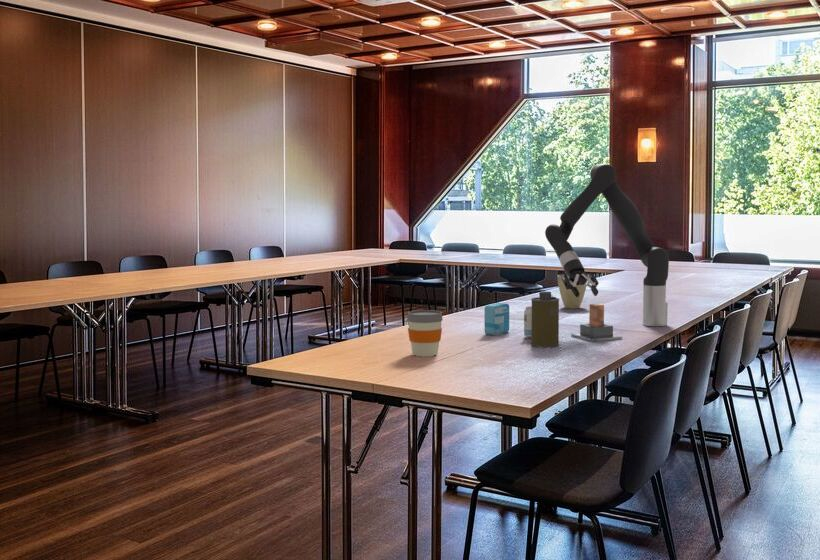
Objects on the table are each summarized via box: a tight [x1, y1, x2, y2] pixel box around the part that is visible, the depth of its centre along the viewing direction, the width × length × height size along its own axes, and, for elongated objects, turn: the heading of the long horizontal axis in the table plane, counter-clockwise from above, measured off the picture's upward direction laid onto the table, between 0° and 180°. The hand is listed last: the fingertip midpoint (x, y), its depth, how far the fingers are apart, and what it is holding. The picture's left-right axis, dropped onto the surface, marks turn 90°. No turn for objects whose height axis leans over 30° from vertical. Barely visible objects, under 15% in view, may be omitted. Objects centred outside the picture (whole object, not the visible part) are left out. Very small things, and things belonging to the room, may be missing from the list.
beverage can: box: [523, 306, 532, 340], centre depth 329 cm, size 7×7×12 cm
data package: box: [483, 302, 510, 336], centre depth 340 cm, size 12×4×12 cm, turn 142°
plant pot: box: [557, 274, 588, 310], centre depth 414 cm, size 15×15×16 cm
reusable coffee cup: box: [406, 309, 443, 357], centre depth 296 cm, size 13×12×15 cm
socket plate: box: [570, 323, 623, 343], centre depth 327 cm, size 14×14×5 cm
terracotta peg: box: [588, 303, 605, 327], centre depth 327 cm, size 4×4×12 cm
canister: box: [530, 291, 560, 348], centre depth 312 cm, size 11×10×20 cm
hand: (587, 295), depth 332 cm, fingers open, 8 cm apart
